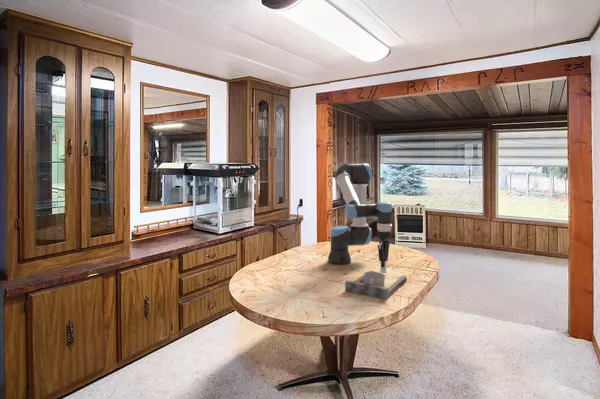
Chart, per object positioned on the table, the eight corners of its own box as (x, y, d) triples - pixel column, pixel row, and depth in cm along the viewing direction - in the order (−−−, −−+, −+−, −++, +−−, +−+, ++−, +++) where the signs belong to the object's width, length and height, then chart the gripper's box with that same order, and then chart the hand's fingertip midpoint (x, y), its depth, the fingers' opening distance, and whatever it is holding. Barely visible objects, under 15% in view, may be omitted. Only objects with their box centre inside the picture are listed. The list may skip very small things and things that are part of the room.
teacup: (368, 284, 198) (368, 269, 197) (387, 287, 192) (387, 272, 191) (357, 292, 186) (357, 276, 186) (378, 296, 181) (378, 280, 180)
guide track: (345, 291, 188) (345, 281, 187) (369, 274, 215) (369, 266, 214) (386, 299, 176) (386, 289, 175) (407, 280, 203) (407, 272, 202)
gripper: (386, 233, 193) (385, 276, 195) (394, 229, 203) (394, 270, 206) (373, 231, 197) (372, 274, 199) (381, 227, 208) (381, 268, 210)
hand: (383, 272), depth 203 cm, fingers closed
